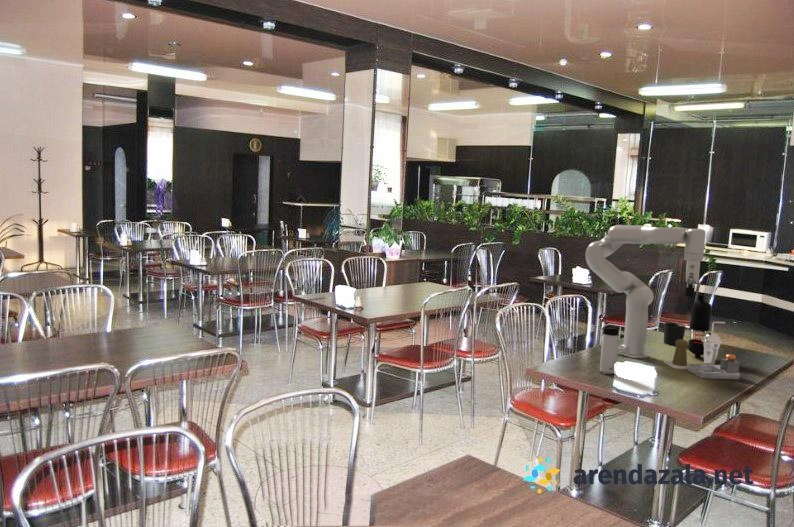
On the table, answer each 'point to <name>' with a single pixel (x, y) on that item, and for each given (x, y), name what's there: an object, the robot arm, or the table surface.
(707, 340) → the cup with straw
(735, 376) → the housing
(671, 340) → the pen holder
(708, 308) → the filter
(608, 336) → the travel mug
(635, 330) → the robot arm
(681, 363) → the brown waisted column
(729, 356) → the plunger
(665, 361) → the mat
